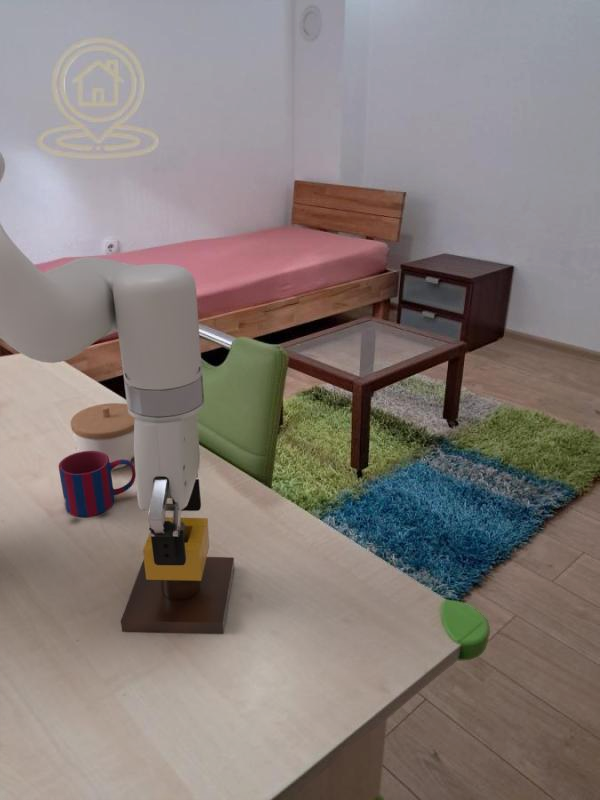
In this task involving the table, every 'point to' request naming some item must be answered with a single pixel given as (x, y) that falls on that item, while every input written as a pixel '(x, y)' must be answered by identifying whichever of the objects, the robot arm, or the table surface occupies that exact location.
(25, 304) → the robot arm
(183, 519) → the yellow block
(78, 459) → the mug
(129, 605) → the stand
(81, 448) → the trinket box
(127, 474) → the table surface
